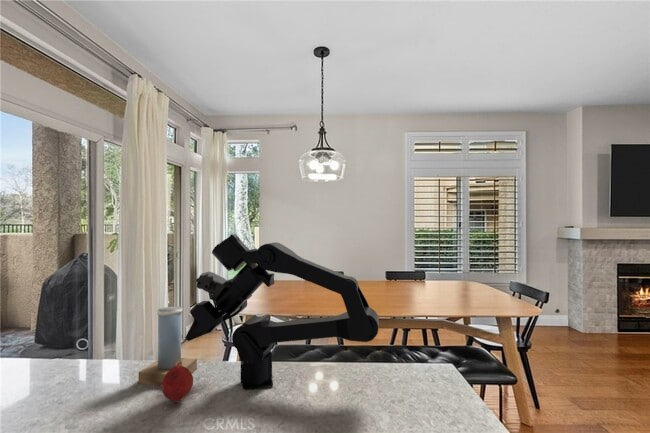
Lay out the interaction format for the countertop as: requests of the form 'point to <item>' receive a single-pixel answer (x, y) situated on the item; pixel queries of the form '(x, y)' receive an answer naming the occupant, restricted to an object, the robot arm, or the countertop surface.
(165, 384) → the onion
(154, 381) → the block
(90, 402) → the countertop surface
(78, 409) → the countertop surface
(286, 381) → the countertop surface
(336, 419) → the countertop surface
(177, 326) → the tumbler
